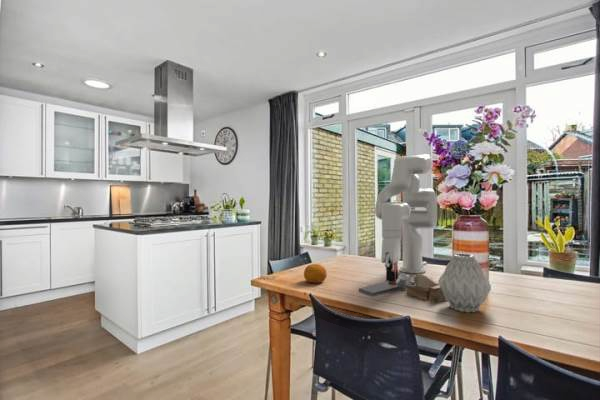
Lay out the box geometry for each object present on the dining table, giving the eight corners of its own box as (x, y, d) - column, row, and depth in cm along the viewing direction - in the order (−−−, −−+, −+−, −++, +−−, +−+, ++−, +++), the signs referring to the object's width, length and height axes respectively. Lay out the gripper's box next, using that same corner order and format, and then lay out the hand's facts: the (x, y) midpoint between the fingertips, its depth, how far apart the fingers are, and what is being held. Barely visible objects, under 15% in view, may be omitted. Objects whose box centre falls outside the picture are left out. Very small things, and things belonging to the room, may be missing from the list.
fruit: (327, 285, 140) (327, 267, 140) (303, 285, 140) (303, 267, 140) (326, 278, 151) (325, 262, 151) (304, 279, 151) (303, 262, 151)
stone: (436, 294, 128) (445, 278, 123) (434, 306, 123) (443, 290, 118) (411, 283, 132) (418, 266, 126) (407, 294, 127) (415, 278, 121)
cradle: (426, 288, 133) (426, 276, 133) (454, 295, 123) (454, 283, 122) (406, 293, 126) (406, 281, 126) (435, 302, 115) (434, 288, 115)
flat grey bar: (400, 280, 145) (400, 275, 145) (415, 284, 138) (415, 279, 138) (358, 291, 130) (358, 285, 130) (373, 295, 124) (373, 289, 124)
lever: (400, 277, 143) (400, 253, 143) (413, 278, 140) (413, 254, 140) (385, 288, 126) (385, 261, 126) (400, 290, 123) (399, 263, 123)
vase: (428, 303, 114) (428, 252, 114) (465, 298, 119) (465, 249, 119) (463, 320, 99) (462, 261, 99) (504, 314, 103) (503, 257, 103)
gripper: (389, 231, 135) (390, 274, 135) (374, 235, 122) (375, 283, 122) (407, 232, 131) (407, 276, 131) (394, 236, 117) (394, 286, 117)
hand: (392, 279), depth 126 cm, fingers closed on lever, 3 cm apart
